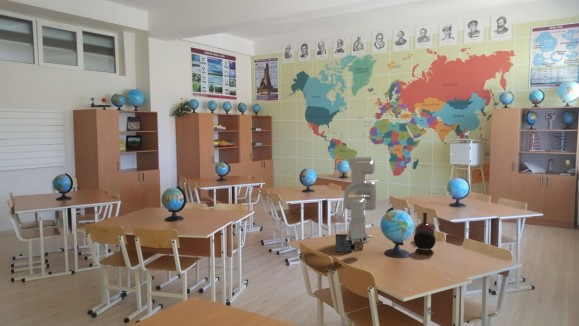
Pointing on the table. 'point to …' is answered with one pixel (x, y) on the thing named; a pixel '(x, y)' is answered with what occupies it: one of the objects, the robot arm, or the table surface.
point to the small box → (342, 243)
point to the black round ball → (424, 242)
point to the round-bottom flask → (424, 225)
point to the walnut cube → (357, 246)
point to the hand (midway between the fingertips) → (356, 249)
